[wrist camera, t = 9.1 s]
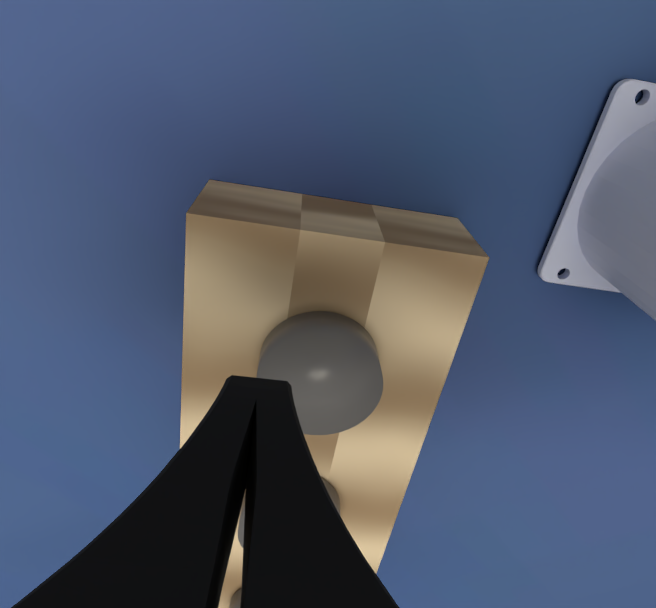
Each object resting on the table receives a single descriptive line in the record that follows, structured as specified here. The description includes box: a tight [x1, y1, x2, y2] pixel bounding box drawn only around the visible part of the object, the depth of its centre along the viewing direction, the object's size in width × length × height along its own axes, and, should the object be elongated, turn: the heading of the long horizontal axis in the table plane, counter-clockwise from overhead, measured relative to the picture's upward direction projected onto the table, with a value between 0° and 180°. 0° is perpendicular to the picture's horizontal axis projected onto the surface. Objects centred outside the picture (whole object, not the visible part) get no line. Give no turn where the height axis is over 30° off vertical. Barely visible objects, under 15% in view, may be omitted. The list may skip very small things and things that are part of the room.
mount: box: [180, 180, 489, 608], centre depth 24 cm, size 26×10×4 cm, turn 170°
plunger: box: [256, 311, 383, 435], centre depth 19 cm, size 4×4×5 cm
